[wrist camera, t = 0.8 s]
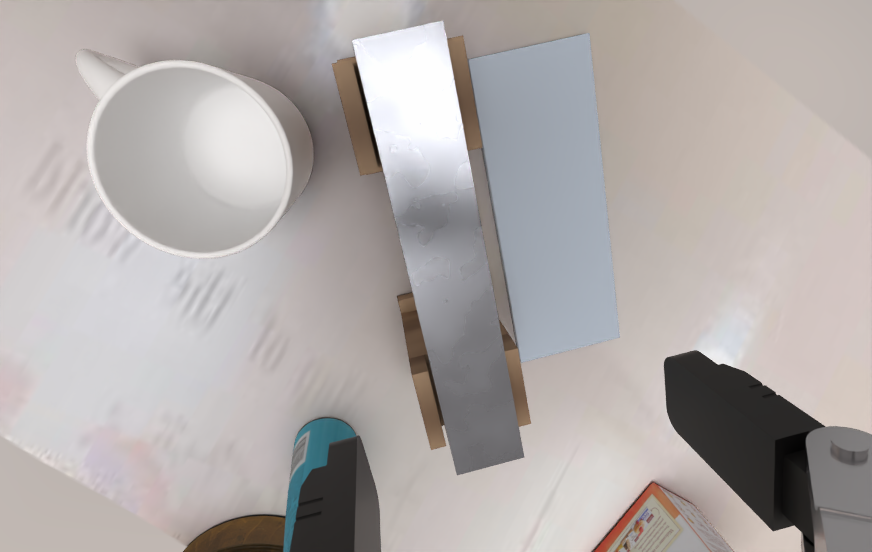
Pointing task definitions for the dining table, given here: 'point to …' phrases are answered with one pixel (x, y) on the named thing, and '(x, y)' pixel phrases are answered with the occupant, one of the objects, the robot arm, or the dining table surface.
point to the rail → (441, 237)
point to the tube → (310, 461)
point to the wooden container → (243, 536)
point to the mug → (193, 153)
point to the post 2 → (426, 382)
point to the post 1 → (360, 117)
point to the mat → (548, 193)
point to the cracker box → (663, 527)
